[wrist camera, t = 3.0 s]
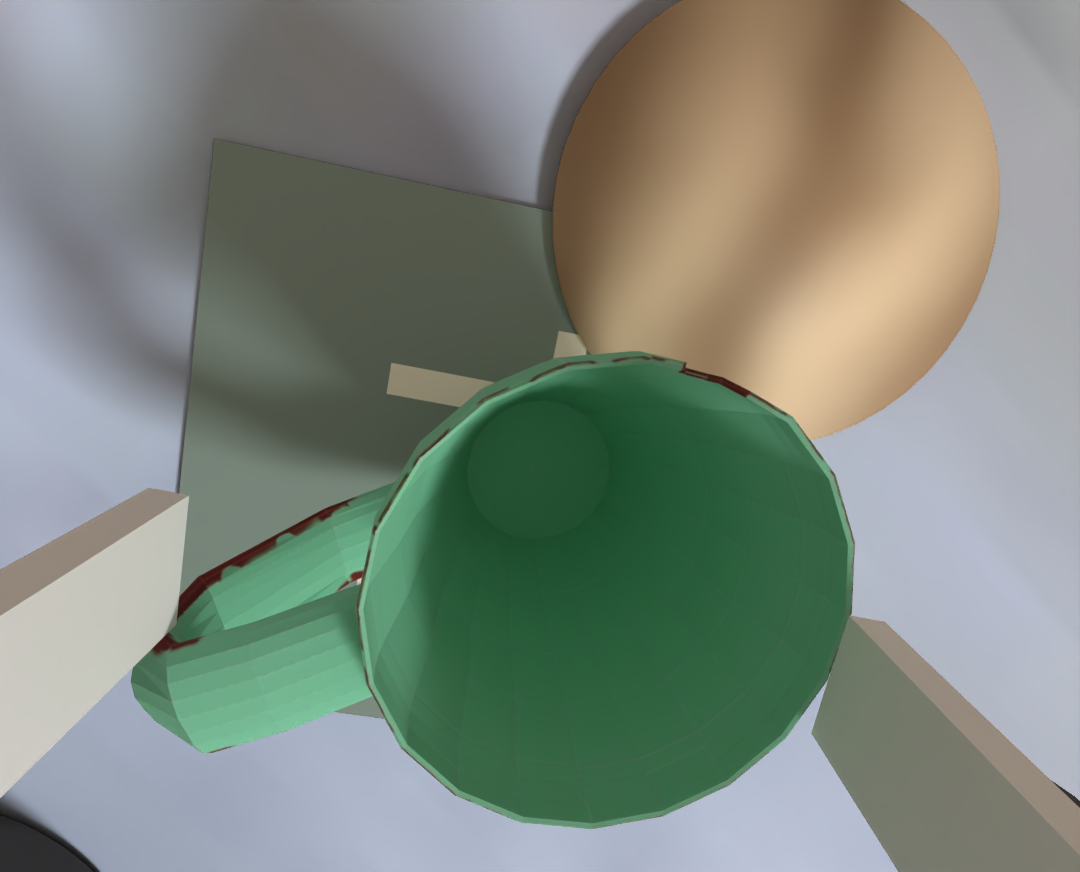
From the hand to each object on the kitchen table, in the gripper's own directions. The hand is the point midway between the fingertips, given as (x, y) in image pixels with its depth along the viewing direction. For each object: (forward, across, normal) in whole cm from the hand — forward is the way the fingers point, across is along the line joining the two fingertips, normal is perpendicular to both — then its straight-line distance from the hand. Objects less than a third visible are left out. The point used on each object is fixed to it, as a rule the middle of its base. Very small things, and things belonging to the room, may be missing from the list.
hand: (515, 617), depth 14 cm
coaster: (+10, +6, +10) cm, 15 cm away
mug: (+9, -2, 0) cm, 9 cm away
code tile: (+10, -2, 0) cm, 10 cm away
